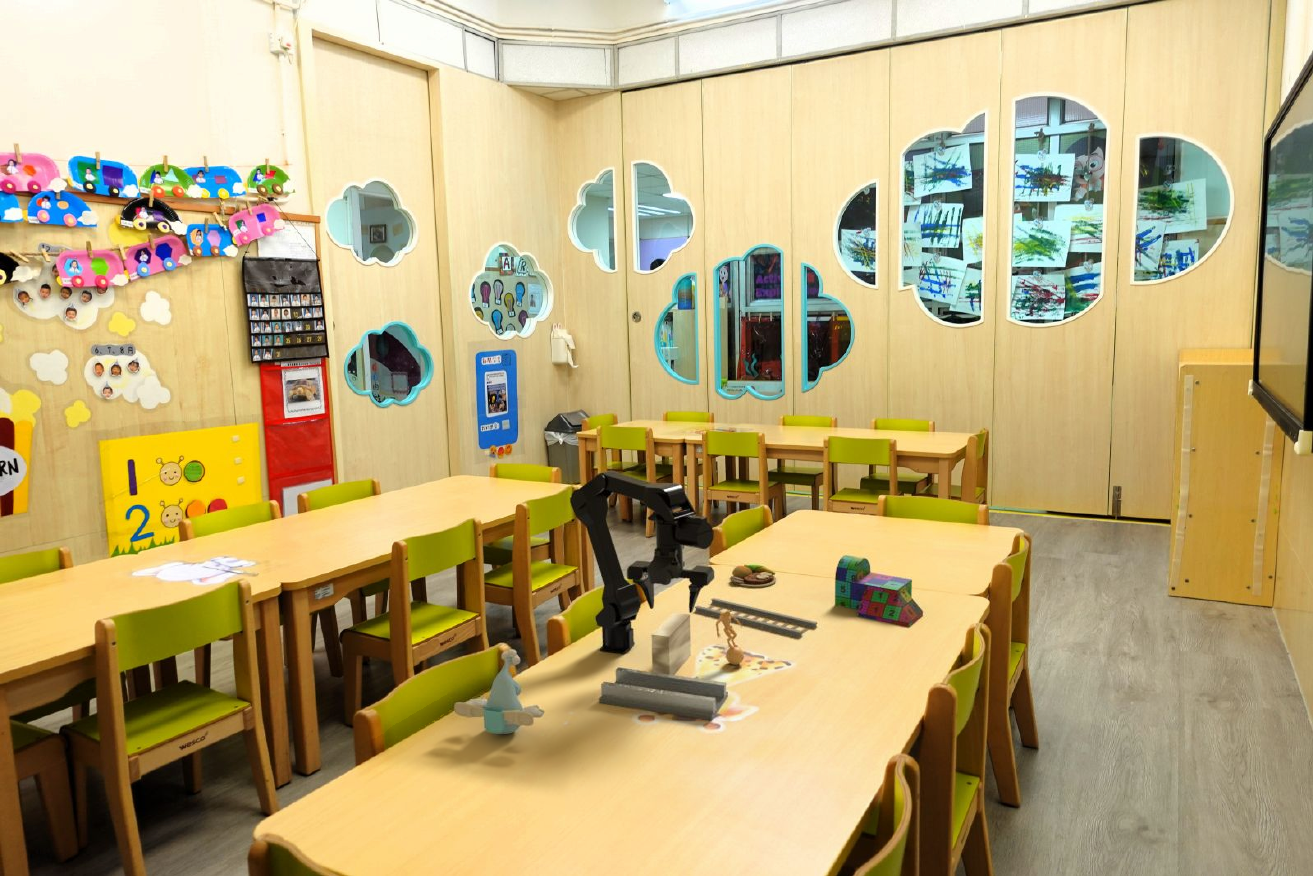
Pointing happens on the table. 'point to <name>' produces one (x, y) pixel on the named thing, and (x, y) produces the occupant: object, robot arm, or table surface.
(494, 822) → the table surface
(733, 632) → the figurine
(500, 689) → the toy figure
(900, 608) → the toy train engine
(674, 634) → the door panel
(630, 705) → the floor track
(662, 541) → the robot arm
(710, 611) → the model train track
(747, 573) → the toy food set
